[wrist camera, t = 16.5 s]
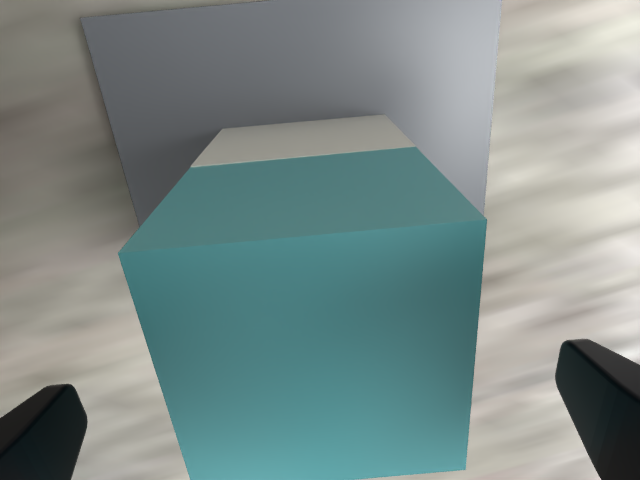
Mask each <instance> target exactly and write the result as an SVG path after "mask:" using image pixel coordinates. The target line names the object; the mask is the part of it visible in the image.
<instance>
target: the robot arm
mask: <svg viewBox="0 0 640 480" xmlns="http://www.w3.org/2000/svg"><path fill="white" fill-rule="evenodd" d="M555 380H556V385H557V388H558V390H559V392H560V395H561V397H562V399H563V401H564V403H565V405H566V408H567V410H568V412H569V414H570V416H571V418H572V421H573V423H574V425H575V427H576V429H577V431H578V434H579V436H580V438H581V440H582V442H583V444H584V447H585V449H586V451H587V453H588V455H589V457H590V459H591V461H592V463H593V465H594V467H595V469H596V471H597V473H598V475H599V476H600V478H601V480H640V365H639V364H637V363H635V362H633V361H631V360H629V359H627V358H625V357H623V356H621V355H619V354H617V353H615V352H613V351H611V350H609V349H607V348H605V347H603V346H601V345H599V344H597V343H595V342H593V341H591V340H589V339H575V340H567V341H564V342H563V343H562V345H561V348H560V353H559V358H558V363H557V368H556V373H555ZM86 429H87V415H86V412H85V410H84V408H83V405H82V403H81V401H80V398H79V396H78V394H77V392H76V389H75V388H74V387H73V386H72V385H71V384H59V385H50V386H47V387H45V388H43V389H42V390H40V391H39V392H37V393H36V394H34V395H33V396H32V397H30V398H29V399H27V400H26V401H24V402H23V403H21V404H20V405H19V406H17V407H16V408H14V409H13V410H11V411H10V412H9V413H7V414H6V415H4V416H3V417H1V418H0V480H71V478H72V475H73V471H74V468H75V465H76V462H77V459H78V455H79V452H80V449H81V446H82V442H83V439H84V436H85V433H86Z"/></svg>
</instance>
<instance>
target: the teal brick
mask: <svg viewBox="0 0 640 480" xmlns="http://www.w3.org/2000/svg"><path fill="white" fill-rule="evenodd" d="M486 225H487V219H486V218H485V217H484V216H483V215H482V214H481V213H480V212H479V211H478V210H477V209H476V208H475V207H474V206H473V205H472V204H471V203H470V202H469V201H468V200H467V199H466V198H465V196H464V195H463V194H462V193H461V192H460V191H459V190H458V189H457V188H456V187H455V186H454V185H453V184H452V183H451V182H450V181H449V180H448V179H447V178H446V177H445V176H444V175H443V174H442V173H441V172H440V171H439V170H438V169H437V168H436V167H435V166H434V165H433V164H432V163H431V162H430V161H429V160H428V159H427V158H426V157H425V156H424V155H423V154H422V153H421V152H420V150H419V149H418V148H417V147H405V148H395V149H384V150H373V151H362V152H351V153H341V154H330V155H319V156H308V157H297V158H287V159H276V160H265V161H254V162H243V163H232V164H222V165H211V166H200V167H190V168H189V170H188V171H187V172H186V173H185V174H184V175H183V177H182V178H181V179H180V180H179V181H178V183H177V184H176V185H175V186H174V187H173V189H172V190H171V191H170V192H169V193H168V194H167V196H166V197H165V198H164V199H163V200H162V202H161V203H160V204H159V205H158V206H157V207H156V209H155V210H154V211H153V212H152V213H151V215H150V216H149V217H148V218H147V219H146V220H145V222H144V223H143V224H142V225H141V226H140V228H139V229H138V230H137V231H136V232H135V233H134V235H133V236H132V237H131V238H130V239H129V241H128V242H127V243H126V244H125V245H124V247H123V248H122V249H121V250H120V251H119V252H118V255H119V258H120V261H121V265H122V268H123V271H124V274H125V277H126V280H127V283H128V286H129V289H130V293H131V296H132V299H133V302H134V305H135V308H136V311H137V314H138V318H139V321H140V324H141V327H142V330H143V333H144V336H145V339H146V343H147V346H148V349H149V352H150V355H151V358H152V361H153V364H154V368H155V371H156V374H157V377H158V380H159V383H160V386H161V389H162V393H163V396H164V399H165V402H166V405H167V408H168V411H169V414H170V418H171V421H172V424H173V427H174V430H175V433H176V436H177V439H178V443H179V446H180V449H181V452H182V455H183V458H184V461H185V464H186V468H187V471H188V474H189V477H190V480H354V479H366V478H377V477H389V476H400V475H412V474H423V473H434V472H446V471H457V470H465V469H466V457H467V446H468V434H469V423H470V411H471V399H472V388H473V376H474V365H475V353H476V341H477V330H478V318H479V307H480V295H481V283H482V272H483V260H484V249H485V237H486Z"/></svg>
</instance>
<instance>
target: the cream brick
mask: <svg viewBox="0 0 640 480" xmlns="http://www.w3.org/2000/svg"><path fill="white" fill-rule="evenodd" d="M405 147H416V146H415V145H414V144H413V143H412V142H411V141H410V140H409V139H408V138H407V137H406V136H405V135H404V134H403V133H402V131H401V130H400V129H399V128H398V127H397V126H396V125H395V124H394V123H393V122H392V121H391V120H390V119H389V118H388V117H387V116H386V115H385V114H383V115H371V116H360V117H349V118H338V119H326V120H315V121H304V122H292V123H281V124H270V125H259V126H247V127H236V128H225V129H222V130H221V131H220V132H219V133H218V134H217V136H216V137H215V138H214V139H213V140H212V141H211V143H210V144H209V145H208V146H207V147H206V148H205V150H204V151H203V152H202V153H201V154H200V155H199V157H198V158H197V159H196V160H195V161H194V163H193V164H192V165H191V166H190V167H200V166H211V165H222V164H232V163H243V162H254V161H265V160H276V159H287V158H297V157H308V156H319V155H330V154H341V153H351V152H362V151H373V150H384V149H395V148H405Z"/></svg>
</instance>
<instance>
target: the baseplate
mask: <svg viewBox="0 0 640 480" xmlns="http://www.w3.org/2000/svg"><path fill="white" fill-rule="evenodd" d="M501 6H502V0H269V1H258V2H248V3H237V4H226V5H215V6H204V7H193V8H182V9H171V10H160V11H149V12H139V13H128V14H117V15H106V16H95V17H84V18H80V19H81V23H82V26H83V30H84V33H85V37H86V40H87V44H88V47H89V51H90V54H91V58H92V61H93V65H94V68H95V72H96V75H97V79H98V82H99V86H100V89H101V93H102V96H103V100H104V104H105V107H106V111H107V114H108V118H109V121H110V125H111V128H112V132H113V135H114V139H115V142H116V146H117V149H118V153H119V156H120V160H121V163H122V167H123V170H124V174H125V177H126V181H127V184H128V188H129V191H130V195H131V198H132V202H133V205H134V209H135V212H136V216H137V220H138V223H139V227H140V226H141V225H142V224H143V223H144V222H145V220H146V219H147V218H148V217H149V216H150V215H151V213H152V212H153V211H154V210H155V209H156V207H157V206H158V205H159V204H160V203H161V202H162V200H163V199H164V198H165V197H166V196H167V194H168V193H169V192H170V191H171V190H172V189H173V187H174V186H175V185H176V184H177V183H178V181H179V180H180V179H181V178H182V177H183V175H184V174H185V173H186V172H187V171H188V170H189V168H190V166H191V165H192V164H193V163H194V161H195V160H196V159H197V158H198V157H199V155H200V154H201V153H202V152H203V151H204V150H205V148H206V147H207V146H208V145H209V144H210V143H211V141H212V140H213V139H214V138H215V137H216V136H217V134H218V133H219V132H220V131H221V130H222V129H225V128H236V127H247V126H259V125H270V124H281V123H292V122H304V121H315V120H326V119H338V118H349V117H360V116H371V115H383V114H385V115H386V116H387V117H388V118H389V119H390V120H391V121H392V122H393V123H394V124H395V125H396V126H397V127H398V128H399V129H400V130H401V131H402V133H403V134H404V135H405V136H406V137H407V138H408V139H409V140H410V141H411V142H412V143H413V144H414V145H415V146H416V147H417V148H418V149H419V150H420V152H421V153H422V154H423V155H424V156H425V157H426V158H427V159H428V160H429V161H430V162H431V163H432V164H433V165H434V166H435V167H436V168H437V169H438V170H439V171H440V172H441V173H442V174H443V175H444V176H445V177H446V178H447V179H448V180H449V181H450V182H451V183H452V184H453V185H454V186H455V187H456V188H457V189H458V190H459V191H460V192H461V193H462V194H463V195H464V196H465V198H466V199H467V200H468V201H469V202H470V203H471V204H472V205H473V206H474V207H475V208H476V209H477V210H478V211H479V212H480V213H481V214H482V215H483V216H484V205H485V193H486V182H487V170H488V158H489V147H490V135H491V123H492V111H493V100H494V88H495V76H496V64H497V53H498V41H499V29H500V18H501Z"/></svg>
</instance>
